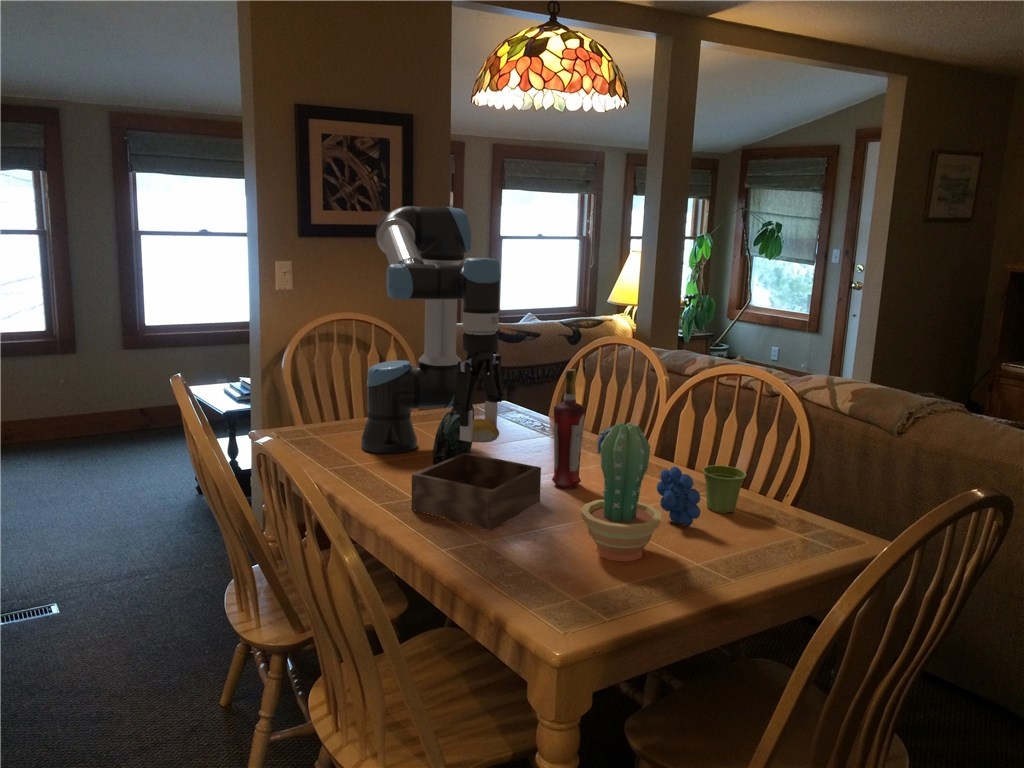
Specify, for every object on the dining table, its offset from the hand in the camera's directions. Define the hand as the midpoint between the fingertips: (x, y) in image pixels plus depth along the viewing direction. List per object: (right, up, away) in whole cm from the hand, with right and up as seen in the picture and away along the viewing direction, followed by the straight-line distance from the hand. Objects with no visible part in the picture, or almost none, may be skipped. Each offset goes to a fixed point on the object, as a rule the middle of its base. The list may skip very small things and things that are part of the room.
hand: (478, 435), depth 173 cm
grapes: (+41, -18, -4) cm, 45 cm away
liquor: (+20, -13, +19) cm, 31 cm away
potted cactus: (+28, -21, -19) cm, 40 cm away
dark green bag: (-7, -12, +24) cm, 27 cm away
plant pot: (+54, -17, +6) cm, 57 cm away
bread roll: (0, -1, 0) cm, 1 cm away
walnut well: (0, -16, +3) cm, 16 cm away
